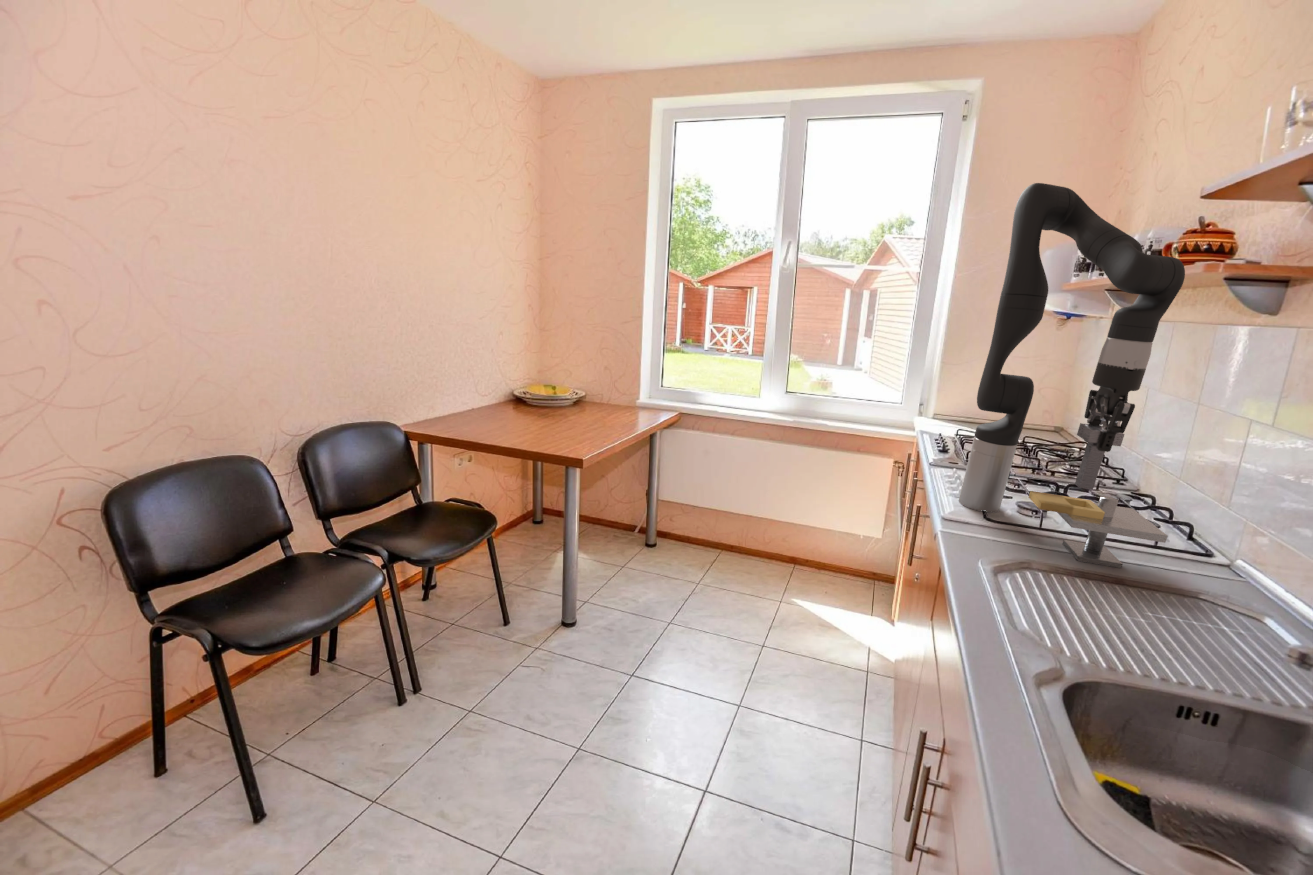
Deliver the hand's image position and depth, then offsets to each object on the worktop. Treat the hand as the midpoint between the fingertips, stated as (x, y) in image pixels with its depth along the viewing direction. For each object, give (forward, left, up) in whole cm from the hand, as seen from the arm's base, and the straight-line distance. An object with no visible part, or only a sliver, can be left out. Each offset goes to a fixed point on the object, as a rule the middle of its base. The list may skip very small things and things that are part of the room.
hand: (1096, 446), depth 118 cm
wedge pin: (0, 0, -9) cm, 9 cm away
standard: (0, +5, -23) cm, 24 cm away
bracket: (0, -2, -14) cm, 14 cm away
